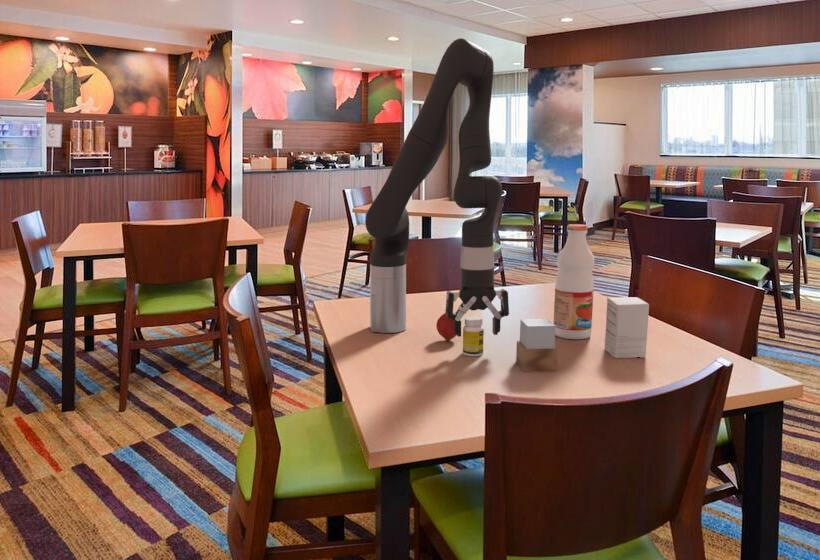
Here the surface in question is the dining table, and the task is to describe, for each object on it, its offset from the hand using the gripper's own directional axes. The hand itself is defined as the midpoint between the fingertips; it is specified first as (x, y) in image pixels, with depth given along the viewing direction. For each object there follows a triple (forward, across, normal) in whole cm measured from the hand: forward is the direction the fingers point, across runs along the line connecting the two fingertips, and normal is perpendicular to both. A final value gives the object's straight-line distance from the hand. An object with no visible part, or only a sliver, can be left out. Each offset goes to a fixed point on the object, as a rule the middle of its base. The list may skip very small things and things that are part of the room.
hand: (477, 334), depth 154 cm
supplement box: (+5, +34, -4) cm, 34 cm away
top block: (0, +11, -11) cm, 15 cm away
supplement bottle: (+5, -1, 0) cm, 5 cm away
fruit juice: (+5, +27, +12) cm, 30 cm away
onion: (+4, -5, +11) cm, 13 cm away
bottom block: (+5, +11, -11) cm, 16 cm away
